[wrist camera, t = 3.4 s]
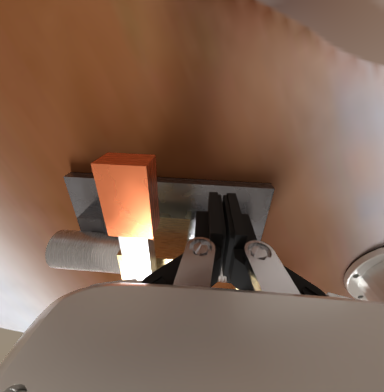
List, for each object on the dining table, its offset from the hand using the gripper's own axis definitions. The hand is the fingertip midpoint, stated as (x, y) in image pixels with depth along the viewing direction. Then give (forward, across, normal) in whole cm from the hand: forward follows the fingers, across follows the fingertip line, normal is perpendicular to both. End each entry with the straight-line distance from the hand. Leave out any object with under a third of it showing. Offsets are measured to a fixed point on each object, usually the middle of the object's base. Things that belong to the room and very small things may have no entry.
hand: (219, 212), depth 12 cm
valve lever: (+2, +6, +4) cm, 7 cm away
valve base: (+12, +6, +10) cm, 17 cm away
